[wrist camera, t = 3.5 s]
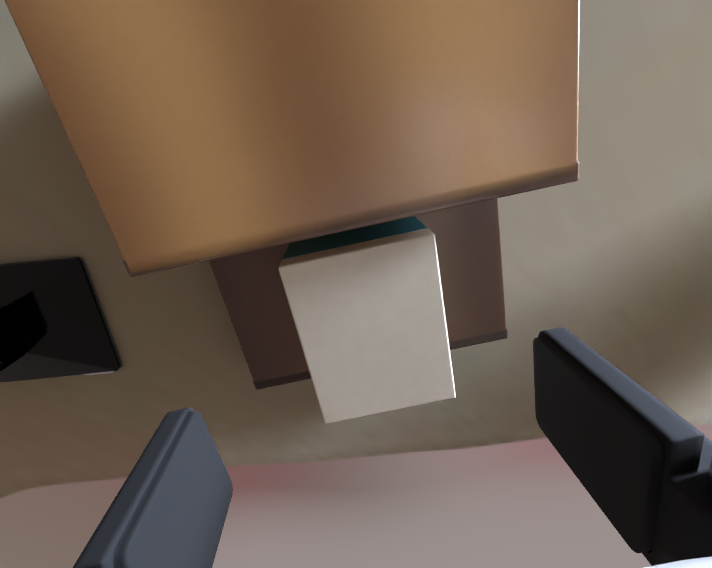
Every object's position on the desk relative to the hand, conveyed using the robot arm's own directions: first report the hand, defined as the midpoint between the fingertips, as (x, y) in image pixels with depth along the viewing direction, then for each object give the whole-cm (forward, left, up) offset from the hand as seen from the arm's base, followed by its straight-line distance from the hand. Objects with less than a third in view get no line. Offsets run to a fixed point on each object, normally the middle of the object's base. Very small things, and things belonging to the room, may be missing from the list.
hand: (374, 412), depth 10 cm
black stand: (+21, -2, -12) cm, 24 cm away
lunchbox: (0, 0, -9) cm, 9 cm away
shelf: (0, -5, -11) cm, 12 cm away
